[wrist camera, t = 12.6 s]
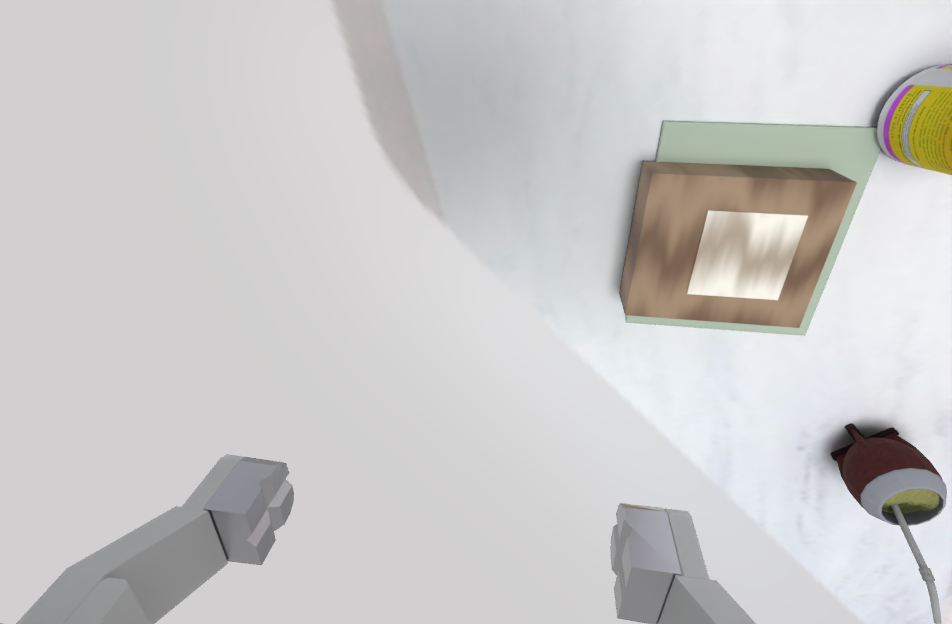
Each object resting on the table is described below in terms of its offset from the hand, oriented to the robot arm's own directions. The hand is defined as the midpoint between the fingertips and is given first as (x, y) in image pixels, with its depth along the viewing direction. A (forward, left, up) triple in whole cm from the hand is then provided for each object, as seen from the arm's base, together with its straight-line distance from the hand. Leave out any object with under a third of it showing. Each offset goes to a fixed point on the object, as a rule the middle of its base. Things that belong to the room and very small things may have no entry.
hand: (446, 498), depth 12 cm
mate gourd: (+27, +37, -34) cm, 57 cm away
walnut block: (+5, +10, -32) cm, 34 cm away
